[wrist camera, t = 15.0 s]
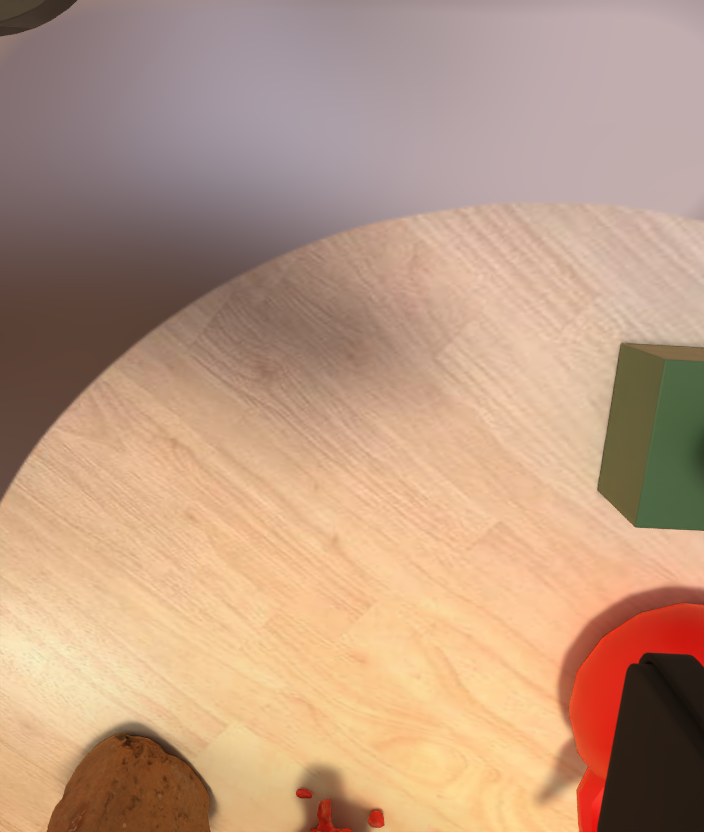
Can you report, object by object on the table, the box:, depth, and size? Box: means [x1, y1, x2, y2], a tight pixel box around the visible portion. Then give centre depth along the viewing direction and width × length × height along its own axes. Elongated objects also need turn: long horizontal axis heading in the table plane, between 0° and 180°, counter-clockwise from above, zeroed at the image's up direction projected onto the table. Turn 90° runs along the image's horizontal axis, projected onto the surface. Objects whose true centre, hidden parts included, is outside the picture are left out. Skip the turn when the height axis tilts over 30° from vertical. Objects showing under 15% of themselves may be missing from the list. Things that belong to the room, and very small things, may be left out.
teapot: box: [569, 603, 704, 832], centre depth 43 cm, size 25×16×12 cm, turn 139°
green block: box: [598, 343, 704, 531], centre depth 41 cm, size 10×9×6 cm
